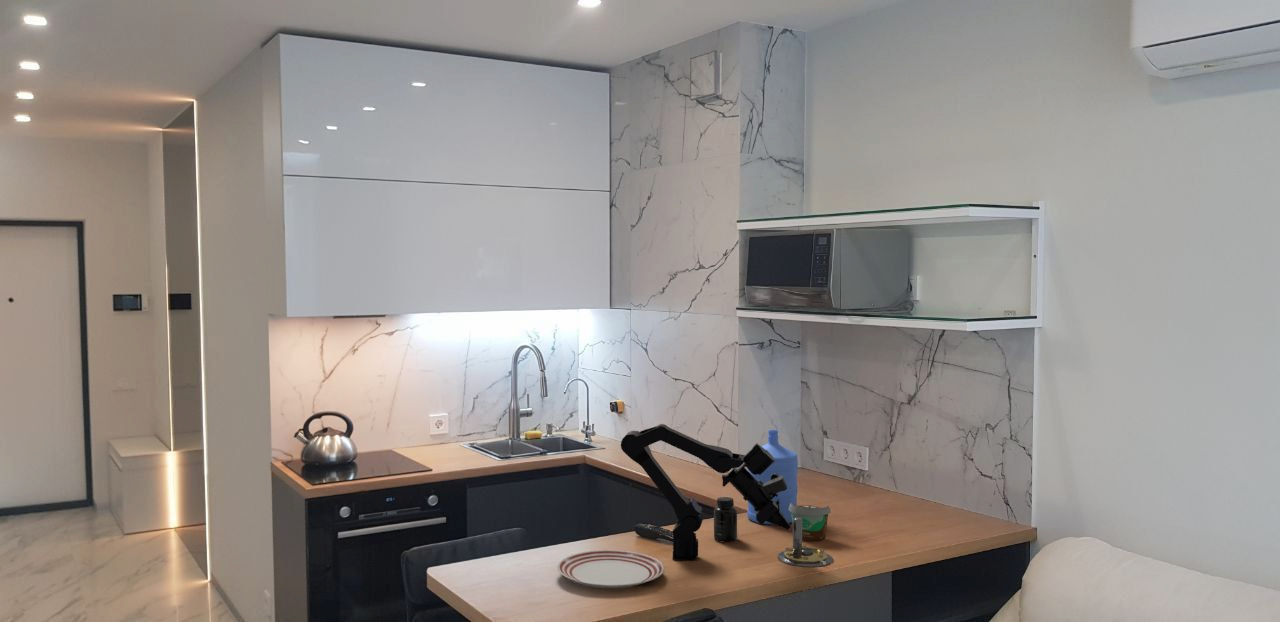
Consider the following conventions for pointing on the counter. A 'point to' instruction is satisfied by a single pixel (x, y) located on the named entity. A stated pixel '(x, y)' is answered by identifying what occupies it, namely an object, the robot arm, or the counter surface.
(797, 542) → the rod on round base
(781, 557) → the flange
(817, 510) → the food container
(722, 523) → the supplement bottle
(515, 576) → the counter surface
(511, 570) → the counter surface
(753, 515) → the water jug
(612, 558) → the dinner plate
